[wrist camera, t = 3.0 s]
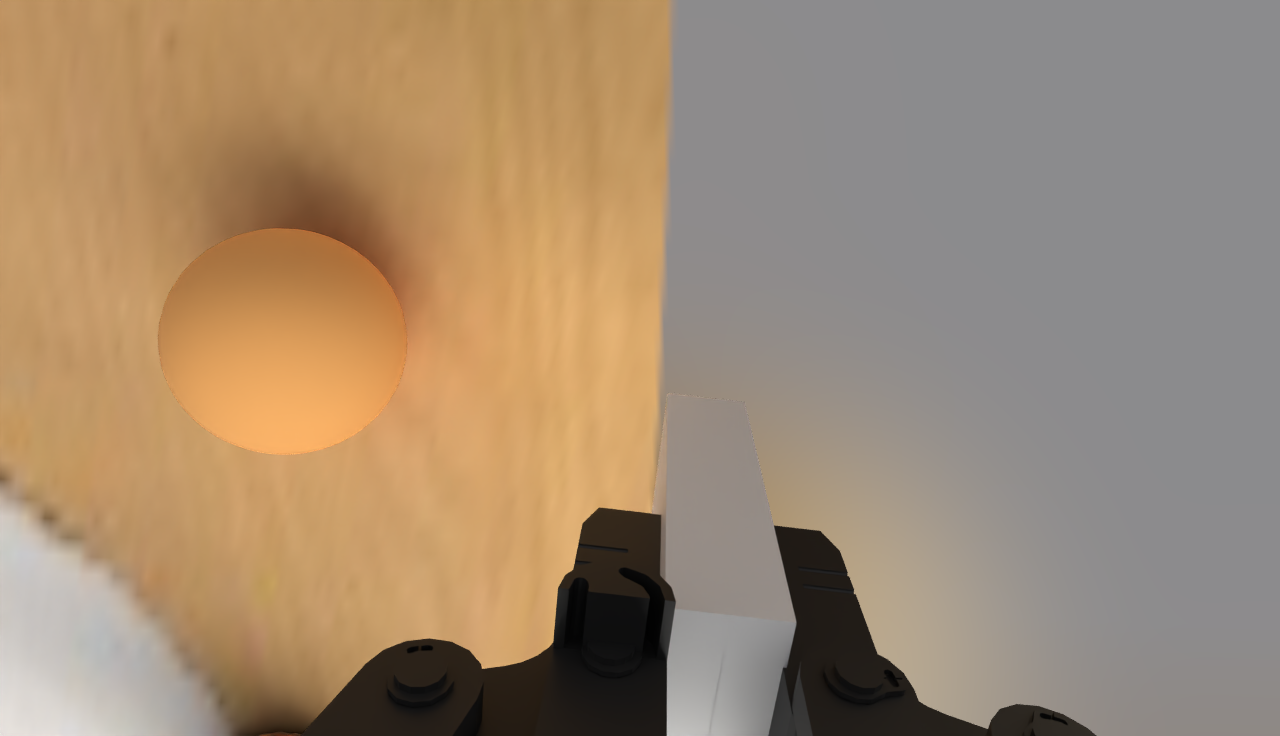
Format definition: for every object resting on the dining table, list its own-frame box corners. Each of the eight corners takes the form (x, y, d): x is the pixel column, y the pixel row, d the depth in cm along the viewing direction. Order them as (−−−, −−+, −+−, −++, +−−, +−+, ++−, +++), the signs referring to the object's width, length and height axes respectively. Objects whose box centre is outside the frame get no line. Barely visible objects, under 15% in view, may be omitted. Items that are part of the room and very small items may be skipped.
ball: (242, 391, 22) (116, 482, 17) (228, 200, 21) (83, 238, 15) (431, 412, 22) (362, 509, 17) (434, 224, 21) (359, 269, 15)
